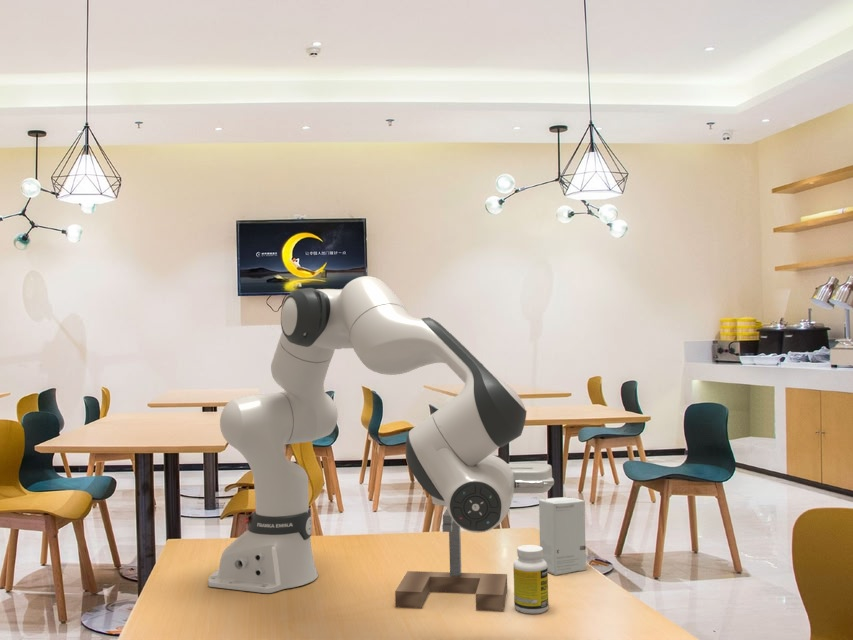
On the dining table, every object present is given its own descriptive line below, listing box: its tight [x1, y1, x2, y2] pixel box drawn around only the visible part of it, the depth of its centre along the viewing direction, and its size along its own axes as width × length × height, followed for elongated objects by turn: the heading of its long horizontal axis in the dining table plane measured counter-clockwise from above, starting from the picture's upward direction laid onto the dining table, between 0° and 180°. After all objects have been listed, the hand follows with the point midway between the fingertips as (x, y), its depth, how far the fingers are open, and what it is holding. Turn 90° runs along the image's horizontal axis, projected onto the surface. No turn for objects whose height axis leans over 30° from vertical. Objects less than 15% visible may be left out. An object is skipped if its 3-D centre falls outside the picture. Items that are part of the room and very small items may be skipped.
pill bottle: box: [513, 544, 549, 615], centre depth 137 cm, size 6×6×11 cm
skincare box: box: [538, 496, 587, 576], centre depth 160 cm, size 8×6×15 cm
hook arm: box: [441, 509, 462, 577], centre depth 144 cm, size 2×12×17 cm, turn 170°
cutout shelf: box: [394, 570, 508, 612], centre depth 144 cm, size 20×12×3 cm, turn 80°
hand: (493, 469), depth 130 cm, fingers open, 8 cm apart
